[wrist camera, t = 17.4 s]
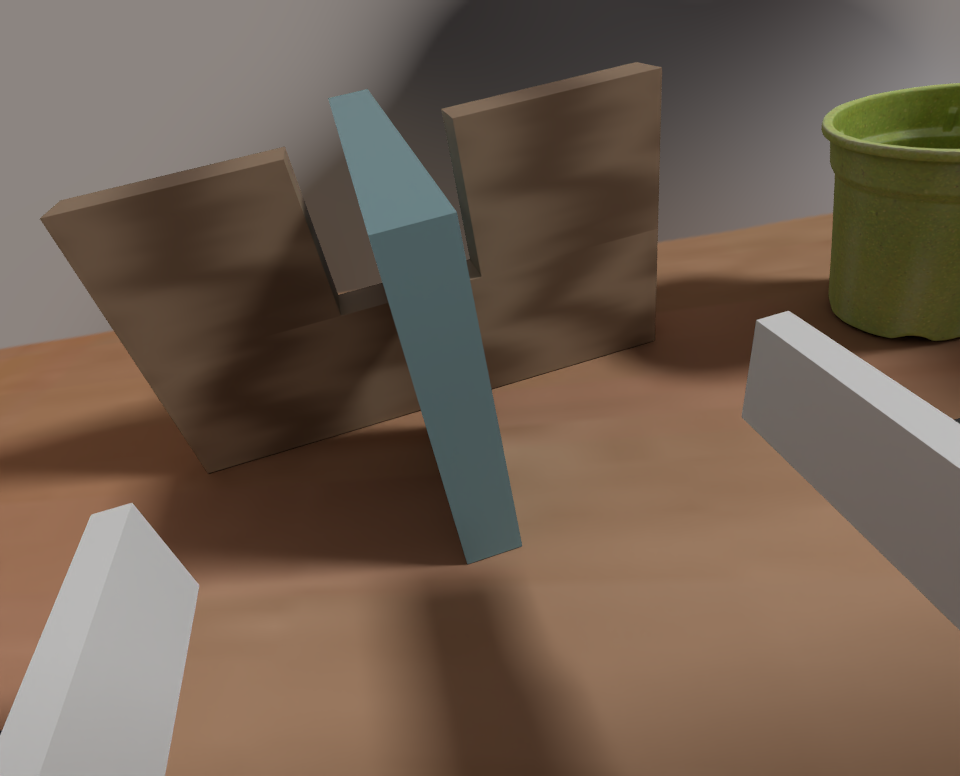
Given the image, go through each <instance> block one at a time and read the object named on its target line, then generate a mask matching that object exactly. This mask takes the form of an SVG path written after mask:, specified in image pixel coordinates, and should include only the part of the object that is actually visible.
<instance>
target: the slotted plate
mask: <svg viewBox="0 0 960 776" xmlns="http://www.w3.org/2000/svg"><path fill="white" fill-rule="evenodd" d="M328 99H329V103H330V106H331V109H332V113H333V116H334V120H335V123H336V127H337V130H338V133H339V137H340V140H341V143H342V147H343V150H344V154H345V157H346V161H347V164H348V168H349V171H350V174H351V177H352V181H353V185H354V188H355V192H356V195H357V198H358V202H359V205H360V209H361V212H362V216H363V219H364V222H365V226H366V229H367V232H368V236H369V239H370V243H371V246H372V249H373V252H374V256H375V259H376V263H377V266H378V269H379V273H380V276H381V279H382V283H383V286H384V289H385V293H386V296H387V299H388V302H389V306H390V309H391V312H392V316H393V319H394V322H395V326H396V329H397V332H398V336H399V339H400V342H401V346H402V349H403V352H404V356H405V359H406V362H407V365H408V369H409V372H410V375H411V379H412V382H413V385H414V389H415V392H416V395H417V399H418V402H419V405H420V409H421V412H422V415H423V419H424V422H425V425H426V429H427V432H428V435H429V438H430V442H431V445H432V448H433V452H434V455H435V458H436V462H437V465H438V468H439V472H440V475H441V478H442V482H443V485H444V488H445V492H446V495H447V498H448V502H449V505H450V508H451V511H452V515H453V518H454V521H455V525H456V528H457V531H458V535H459V538H460V541H461V545H462V548H463V551H464V555H465V558H466V561H467V564H470V563H473V562H476V561H479V560H482V559H485V558H488V557H491V556H494V555H497V554H500V553H503V552H506V551H509V550H512V549H515V548H518V547H521V546H522V542H521V537H520V532H519V527H518V522H517V517H516V512H515V507H514V501H513V496H512V491H511V486H510V481H509V476H508V471H507V466H506V461H505V456H504V451H503V445H502V440H501V435H500V430H499V425H498V420H497V415H496V410H495V405H494V400H493V395H492V389H491V384H490V379H489V374H488V369H487V364H486V359H485V354H484V349H483V344H482V338H481V333H480V328H479V323H478V318H477V313H476V308H475V303H474V298H473V293H472V288H471V282H470V277H469V272H468V267H467V262H466V257H465V252H464V247H463V242H462V237H461V232H460V226H459V222H458V216H457V212H456V211H455V209H454V208H453V206H452V205H451V204H450V202H449V201H448V200H447V198H446V197H445V195H444V194H443V193H442V191H441V190H440V189H439V187H438V186H437V184H436V183H435V182H434V180H433V179H432V177H431V176H430V175H429V174H428V172H427V171H426V169H425V168H424V166H423V165H422V164H421V162H420V161H419V160H418V158H417V157H416V155H415V154H414V153H413V151H412V150H411V149H410V147H409V146H408V145H407V143H406V142H405V140H404V139H403V138H402V136H401V135H400V134H399V132H398V131H397V129H396V128H395V127H394V125H393V124H392V123H391V121H390V120H389V118H388V117H387V116H386V114H385V113H384V112H383V110H382V109H381V107H380V106H379V105H378V103H377V102H376V100H375V99H374V98H373V96H372V95H371V93H370V92H369V91H368V89H366V90H362V91H358V92H353V93H349V94H345V95H340V96H336V97H332V98H328Z"/></svg>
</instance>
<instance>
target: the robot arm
mask: <svg viewBox="0 0 960 776" xmlns="http://www.w3.org/2000/svg"><path fill="white" fill-rule="evenodd" d="M742 418H743V419H744V420H745V421H746V422H747V423H748V424H749V425H750V426H751V427H752V428H753V429H754V430H755V431H756V432H757V433H759V434H760V435H761V436H762V437H763V438H764V439H765V440H766V441H767V442H768V443H769V444H770V445H771V446H772V447H773V448H774V449H775V450H776V451H777V452H778V453H779V454H780V455H781V456H782V457H783V458H784V459H785V460H786V461H787V462H788V463H789V464H790V465H791V466H792V467H793V468H794V469H795V470H796V471H797V472H798V473H799V474H800V475H801V476H802V477H804V478H805V479H806V480H807V481H808V482H809V483H810V484H811V485H812V486H813V487H814V488H815V489H816V490H817V491H818V492H819V493H820V494H821V495H822V496H823V497H824V498H825V499H826V500H827V501H828V502H829V503H830V504H831V505H832V506H833V507H834V508H835V509H836V510H837V511H838V512H839V513H840V514H841V515H842V516H843V517H844V518H845V519H846V520H847V521H849V522H850V523H851V524H852V525H853V526H854V527H855V528H856V529H857V530H858V531H859V532H860V533H861V534H862V535H863V536H864V537H865V538H866V539H867V540H868V541H869V542H870V543H871V544H872V545H873V546H874V547H875V548H876V549H877V550H878V551H879V552H880V553H881V554H882V555H883V556H884V557H885V558H886V559H887V560H888V561H889V562H890V563H891V564H892V565H894V566H895V567H896V568H897V569H898V570H899V571H900V572H901V573H902V574H903V575H904V576H905V577H906V578H907V579H908V580H909V581H910V582H911V583H912V584H913V585H914V586H915V587H916V588H917V589H918V590H919V591H920V592H921V593H922V594H923V595H924V596H925V597H926V598H927V599H928V600H929V601H930V602H931V603H932V604H933V605H934V606H935V607H936V608H938V609H939V610H940V611H941V612H942V613H943V614H944V615H945V616H946V617H947V618H948V619H949V620H950V621H951V622H952V623H953V624H954V625H955V626H956V627H957V628H958V629H959V630H960V418H958V419H955V420H953V419H952V418H950V417H949V416H947V415H946V414H944V413H943V412H941V411H939V410H938V409H936V408H935V407H933V406H932V405H930V404H929V403H927V402H926V401H924V400H923V399H921V398H920V397H918V396H917V395H915V394H914V393H912V392H911V391H909V390H908V389H906V388H905V387H903V386H902V385H900V384H899V383H897V382H896V381H894V380H893V379H891V378H890V377H888V376H887V375H885V374H884V373H882V372H881V371H879V370H878V369H876V368H875V367H873V366H871V365H870V364H868V363H867V362H865V361H864V360H862V359H861V358H859V357H858V356H856V355H855V354H853V353H852V352H850V351H849V350H847V349H846V348H844V347H843V346H841V345H840V344H838V343H837V342H835V341H834V340H832V339H831V338H829V337H828V336H826V335H825V334H823V333H822V332H820V331H819V330H817V329H816V328H814V327H813V326H811V325H810V324H808V323H806V322H805V321H803V320H802V319H800V318H799V317H797V316H796V315H794V314H793V313H791V312H790V311H786V312H782V313H779V314H775V315H772V316H769V317H765V318H762V319H758V320H756V325H755V332H754V338H753V345H752V352H751V358H750V365H749V371H748V378H747V385H746V391H745V398H744V405H743V411H742ZM198 590H199V584H198V583H197V582H196V581H195V579H194V578H193V577H192V576H191V575H190V573H189V572H188V571H187V570H186V568H185V567H184V566H183V565H182V563H181V562H180V561H179V560H178V558H177V557H176V556H175V555H174V554H173V552H172V551H171V550H170V549H169V547H168V546H167V545H166V544H165V542H164V541H163V540H162V539H161V538H160V536H159V535H158V534H157V533H156V531H155V530H154V529H153V528H152V526H151V525H150V524H149V523H148V522H147V520H146V519H145V518H144V517H143V515H142V514H141V513H140V512H139V510H138V509H137V508H136V507H135V506H134V504H133V503H130V504H126V505H123V506H119V507H116V508H113V509H109V510H106V511H102V512H99V513H96V514H92V515H91V516H90V519H89V521H88V524H87V526H86V529H85V531H84V533H83V536H82V538H81V541H80V543H79V546H78V548H77V550H76V553H75V555H74V558H73V560H72V562H71V565H70V567H69V570H68V572H67V575H66V577H65V579H64V582H63V584H62V587H61V589H60V592H59V594H58V596H57V599H56V601H55V604H54V606H53V609H52V611H51V613H50V616H49V618H48V621H47V623H46V626H45V628H44V630H43V633H42V635H41V638H40V640H39V642H38V645H37V647H36V650H35V652H34V655H33V657H32V659H31V662H30V664H29V667H28V669H27V672H26V674H25V676H24V679H23V681H22V684H21V686H20V689H19V691H18V693H17V696H16V698H15V701H14V703H13V706H12V708H11V710H10V713H9V715H8V718H7V720H6V722H5V725H4V727H3V730H2V731H0V776H165V772H166V767H167V761H168V756H169V750H170V745H171V739H172V733H173V728H174V722H175V717H176V711H177V706H178V700H179V695H180V689H181V684H182V678H183V673H184V667H185V662H186V656H187V651H188V645H189V640H190V634H191V629H192V623H193V618H194V612H195V607H196V601H197V595H198Z"/></svg>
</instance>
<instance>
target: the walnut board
mask: <svg viewBox="0 0 960 776" xmlns="http://www.w3.org/2000/svg"><path fill="white" fill-rule="evenodd" d="M661 83H662V68H661V67H657V66H652V65H647V64H642V63H637V62H635V63H631V64H627V65H622V66H619V67H615V68H610V69H606V70H602V71H598V72H593V73H589V74H585V75H581V76H577V77H573V78H569V79H564V80H560V81H556V82H552V83H548V84H544V85H539V86H535V87H531V88H527V89H523V90H519V91H514V92H510V93H506V94H502V95H498V96H493V97H489V98H485V99H481V100H477V101H473V102H469V103H464V104H460V105H456V106H452V107H448V108H444V109H441V110H442V115H443V120H444V125H445V131H446V136H447V141H448V146H449V152H450V157H451V162H452V167H453V173H454V178H455V183H456V188H457V193H458V199H459V204H460V209H461V214H462V220H463V225H464V230H465V235H466V240H467V246H468V251H469V256H470V259H469V260H466V262H467V267H468V272H469V277H470V282H471V288H472V293H473V298H474V303H475V308H476V313H477V318H478V323H479V328H480V333H481V338H482V344H483V349H484V354H485V359H486V364H487V369H488V374H489V379H490V384H491V389H493V388H496V387H500V386H503V385H506V384H510V383H513V382H517V381H520V380H523V379H527V378H530V377H533V376H537V375H540V374H543V373H547V372H550V371H553V370H557V369H560V368H563V367H567V366H570V365H574V364H577V363H580V362H584V361H587V360H590V359H594V358H597V357H600V356H604V355H607V354H610V353H614V352H617V351H621V350H624V349H627V348H631V347H634V346H637V345H641V344H644V343H647V342H651V341H654V340H655V318H656V279H657V241H658V201H659V197H658V196H659V162H660V124H661V85H662V84H661ZM40 219H41V221H42V223H43V224H44V226H45V227H46V229H47V230H48V232H49V233H50V235H51V236H52V238H53V239H54V241H55V242H56V244H57V245H58V247H59V248H60V250H61V251H62V253H63V254H64V256H65V257H66V259H67V261H68V262H69V264H70V265H71V267H72V268H73V269H74V271H75V273H76V274H77V276H78V277H79V279H80V280H81V282H82V283H83V284H84V286H85V288H86V289H87V291H88V292H89V294H90V295H91V297H92V298H93V300H94V301H95V303H96V304H97V306H98V307H99V309H100V311H101V312H102V314H103V315H104V317H105V318H106V320H107V321H108V323H109V324H110V326H111V327H112V329H113V330H114V332H115V333H116V335H117V336H118V338H119V339H120V341H121V342H122V344H123V345H124V347H125V348H126V350H127V351H128V353H129V354H130V356H131V357H132V359H133V360H134V362H135V364H136V365H137V367H138V368H139V370H140V371H141V373H142V374H143V376H144V377H145V379H146V380H147V382H148V383H149V385H150V386H151V388H152V389H153V391H154V392H155V394H156V395H157V397H158V398H159V400H160V401H161V403H162V404H163V406H164V407H165V409H166V410H167V412H168V414H169V415H170V417H171V418H172V420H173V421H174V423H175V424H176V426H177V427H178V429H179V430H180V432H181V433H182V435H183V436H184V438H185V439H186V441H187V442H188V444H189V445H190V447H191V448H192V450H193V451H194V453H195V454H196V456H197V457H198V459H199V460H200V462H201V463H202V465H203V467H204V468H205V470H206V471H207V473H211V472H215V471H218V470H221V469H225V468H228V467H231V466H235V465H238V464H241V463H245V462H248V461H251V460H255V459H258V458H262V457H265V456H268V455H272V454H275V453H278V452H282V451H285V450H288V449H292V448H295V447H298V446H302V445H305V444H309V443H312V442H315V441H319V440H322V439H325V438H329V437H332V436H335V435H339V434H342V433H345V432H349V431H352V430H355V429H359V428H362V427H366V426H369V425H372V424H376V423H379V422H382V421H386V420H389V419H392V418H396V417H399V416H402V415H406V414H409V413H413V412H416V411H419V410H421V409H420V405H419V402H418V399H417V395H416V392H415V389H414V385H413V382H412V379H411V375H410V372H409V369H408V365H407V362H406V359H405V356H404V352H403V349H402V346H401V342H400V339H399V336H398V332H397V329H396V326H395V322H394V319H393V316H392V312H391V309H390V306H389V302H388V299H387V296H386V293H385V289H384V286H383V283H381V284H377V285H373V286H369V287H366V288H362V289H358V290H355V291H351V292H347V293H344V294H340V295H338V293H337V291H336V288H335V285H334V282H333V279H332V277H331V274H330V271H329V268H328V266H327V263H326V260H325V257H324V254H323V251H322V249H321V246H320V243H319V240H318V238H317V235H316V232H315V229H314V226H313V224H312V221H311V218H310V215H309V213H308V210H307V207H306V204H305V201H304V199H303V196H302V193H301V190H300V188H299V185H298V182H297V179H296V177H295V174H294V171H293V168H292V166H291V163H290V160H289V157H288V154H287V152H286V149H285V147H281V148H277V149H273V150H269V151H265V152H260V153H257V154H252V155H248V156H244V157H240V158H236V159H231V160H227V161H223V162H219V163H215V164H210V165H207V166H202V167H198V168H194V169H190V170H186V171H181V172H177V173H173V174H169V175H165V176H160V177H156V178H153V179H148V180H144V181H140V182H136V183H132V184H127V185H123V186H119V187H115V188H111V189H106V190H103V191H98V192H94V193H90V194H86V195H82V196H77V197H73V198H69V199H65V200H61V201H59V202H58V203H57V204H56V205H55V206H54V207H53V208H51V209H50V210H49V211H48V212H47V213H46V214H45V215H43V216H42V217H41V218H40Z"/></svg>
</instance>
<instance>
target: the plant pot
mask: <svg viewBox="0 0 960 776" xmlns="http://www.w3.org/2000/svg"><path fill="white" fill-rule="evenodd" d="M822 132H823V135H824V136H825V137H826V138H827V139H828V140H829V141H830V163H831V167H832V169H833V171H834V173H835V187H834V207H833V230H832V249H831V264H830V278H829V300H830V304H831V308H832V311H833V312H834V313H835V315H836V316H837V317H839V318H840V319H841V320H843V321H844V322H846V323H847V324H849V325H851V326H854V327H856V328H858V329H860V330H863V331H865V332H868V333H871V334H875V335H878V336H883V337H887V338H896V337H901V336H910V335H911V336H921V337H925V338H928V339H930V340H932V341H939V340H948V339H953V338H957V337H960V83H957V84H943V85H932V86H924V87H916V88H908V89H902V90H897V91H891V92H885V93H880V94H875V95H871V96H867V97H864V98H860V99H856V100H854V101H850V102H847V103H844V104H842V105H840V106H838V107H836V108H834V109H833V110H831V111H830V112H829V113H828V114H827V115H826V116H825V117H824V119H823V122H822Z"/></svg>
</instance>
